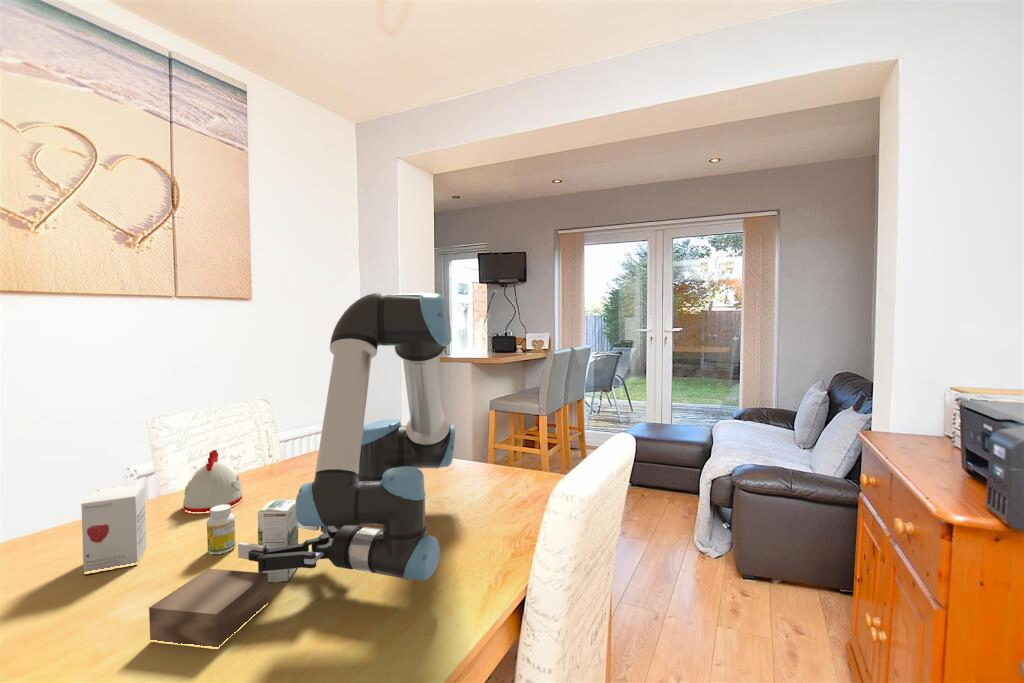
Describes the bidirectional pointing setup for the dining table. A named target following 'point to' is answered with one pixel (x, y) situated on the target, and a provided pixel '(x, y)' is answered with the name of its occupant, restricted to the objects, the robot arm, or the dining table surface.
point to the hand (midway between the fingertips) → (267, 534)
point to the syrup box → (278, 532)
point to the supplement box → (113, 527)
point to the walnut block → (208, 607)
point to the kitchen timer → (212, 487)
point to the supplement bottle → (221, 529)
